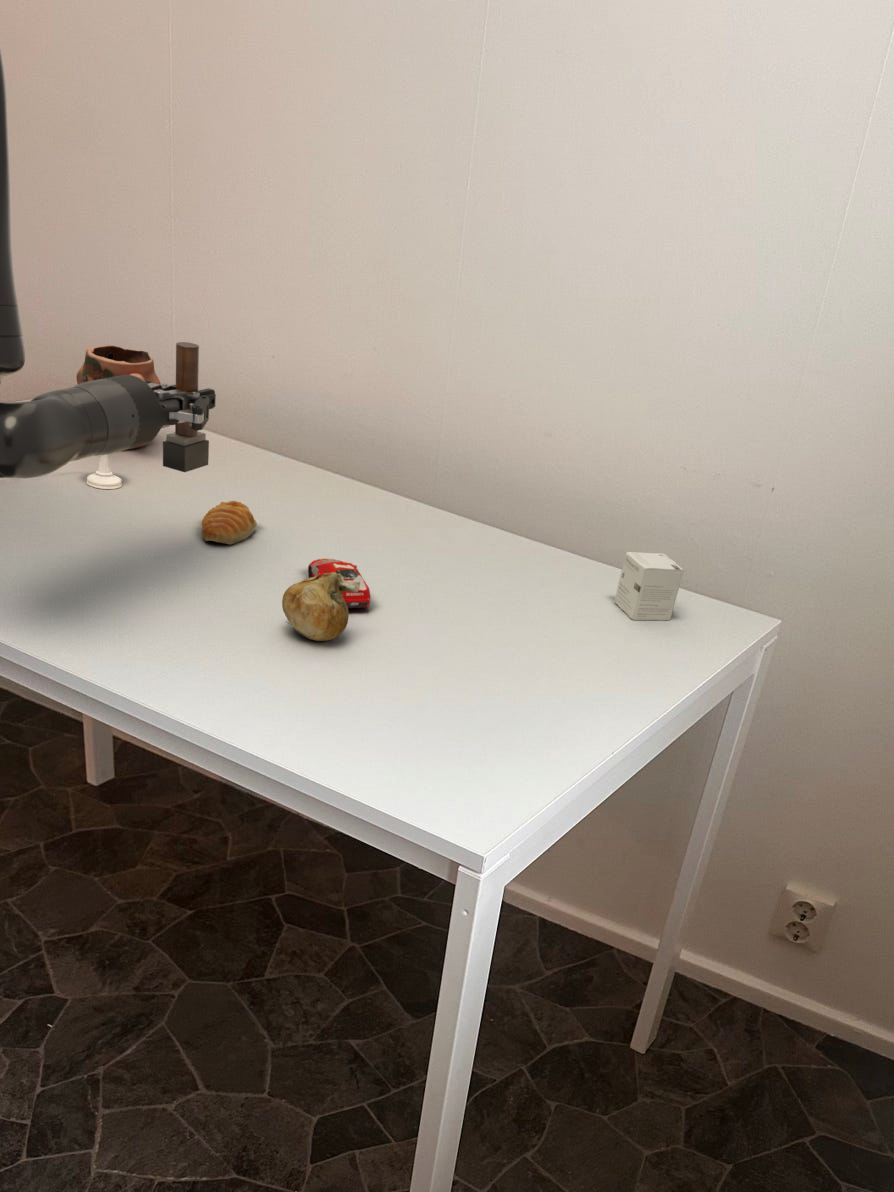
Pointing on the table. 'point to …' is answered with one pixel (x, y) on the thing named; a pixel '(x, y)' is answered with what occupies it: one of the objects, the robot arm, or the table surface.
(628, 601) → the product carton
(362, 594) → the race car
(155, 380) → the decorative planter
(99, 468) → the chess piece
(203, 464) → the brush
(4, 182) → the robot arm
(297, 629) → the onion
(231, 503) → the pastry
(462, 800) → the table surface
